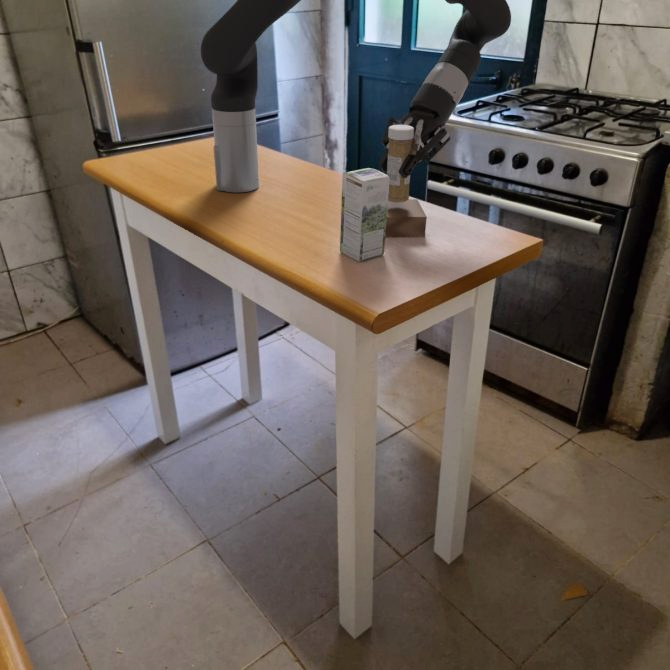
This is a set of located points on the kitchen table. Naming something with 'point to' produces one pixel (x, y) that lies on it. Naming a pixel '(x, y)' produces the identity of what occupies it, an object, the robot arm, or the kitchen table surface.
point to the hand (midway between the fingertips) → (392, 172)
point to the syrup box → (364, 213)
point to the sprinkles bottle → (398, 161)
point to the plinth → (405, 219)
